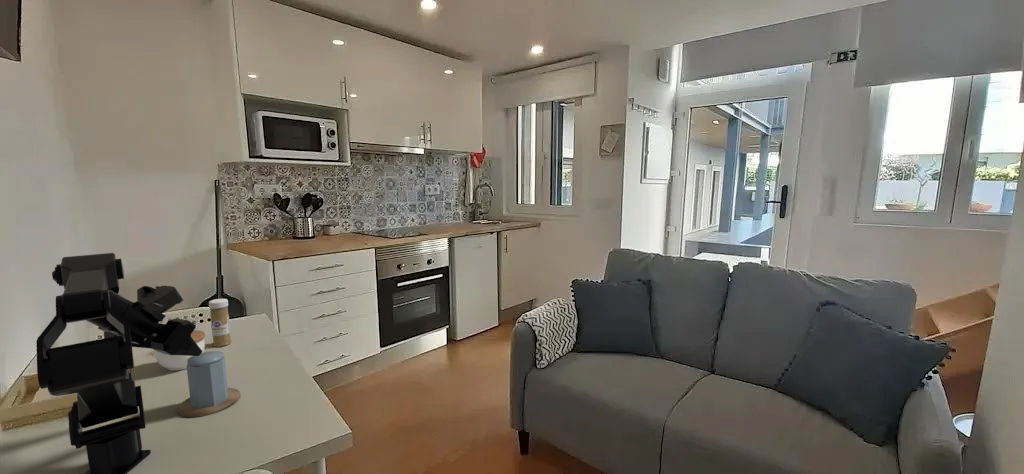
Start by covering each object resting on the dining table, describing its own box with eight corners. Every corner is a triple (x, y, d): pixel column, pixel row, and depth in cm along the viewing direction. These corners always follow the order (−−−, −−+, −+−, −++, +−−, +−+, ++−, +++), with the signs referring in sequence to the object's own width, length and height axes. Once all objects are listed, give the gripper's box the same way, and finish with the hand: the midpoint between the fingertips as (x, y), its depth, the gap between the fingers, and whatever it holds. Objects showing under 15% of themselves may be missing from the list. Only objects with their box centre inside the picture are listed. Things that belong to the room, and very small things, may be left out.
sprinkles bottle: (212, 348, 120) (207, 303, 118) (214, 343, 124) (209, 299, 122) (231, 345, 122) (226, 301, 121) (232, 340, 126) (228, 297, 125)
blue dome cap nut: (224, 404, 90) (219, 359, 88) (188, 410, 87) (183, 365, 86) (229, 390, 95) (225, 349, 94) (196, 396, 93) (191, 354, 91)
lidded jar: (179, 377, 103) (174, 340, 102) (144, 373, 105) (139, 337, 104) (217, 358, 114) (214, 325, 112) (185, 355, 116) (181, 322, 114)
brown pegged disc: (221, 415, 86) (219, 399, 86) (164, 418, 85) (162, 401, 85) (250, 389, 97) (248, 374, 96) (200, 391, 96) (198, 376, 96)
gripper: (180, 279, 76) (242, 320, 87) (117, 272, 82) (182, 311, 94) (132, 334, 69) (206, 371, 81) (68, 322, 76) (144, 358, 87)
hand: (185, 350), depth 86 cm, fingers open, 9 cm apart
